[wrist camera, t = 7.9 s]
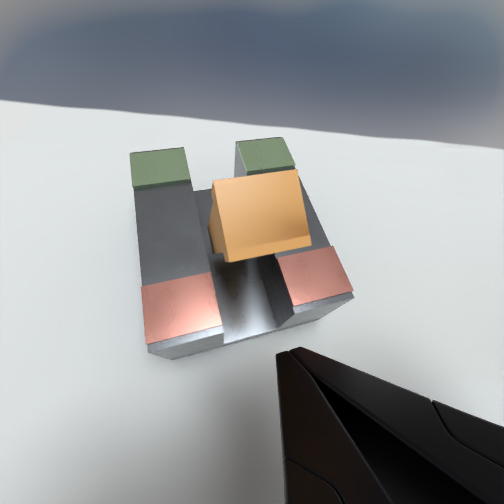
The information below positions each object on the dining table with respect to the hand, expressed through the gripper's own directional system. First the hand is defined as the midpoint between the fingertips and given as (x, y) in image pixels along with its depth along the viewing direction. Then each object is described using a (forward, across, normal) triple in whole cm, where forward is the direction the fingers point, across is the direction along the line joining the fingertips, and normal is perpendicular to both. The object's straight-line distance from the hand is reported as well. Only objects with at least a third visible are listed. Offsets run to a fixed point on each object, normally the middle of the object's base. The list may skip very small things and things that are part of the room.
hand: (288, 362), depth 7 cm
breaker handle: (+8, 0, +2) cm, 9 cm away
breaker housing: (+11, 0, 0) cm, 11 cm away
